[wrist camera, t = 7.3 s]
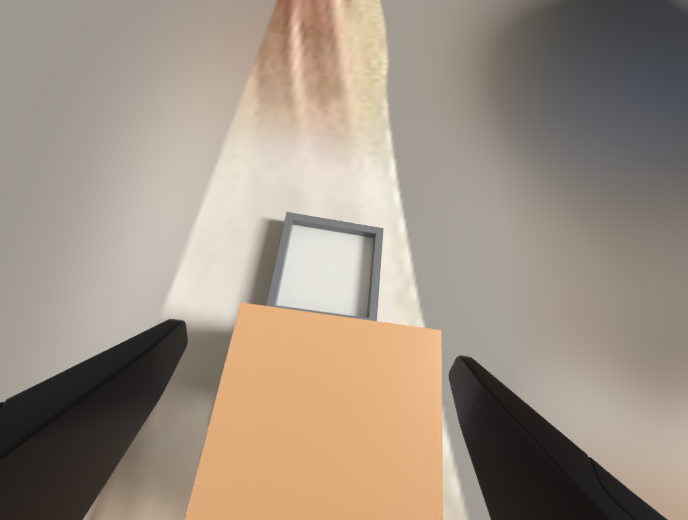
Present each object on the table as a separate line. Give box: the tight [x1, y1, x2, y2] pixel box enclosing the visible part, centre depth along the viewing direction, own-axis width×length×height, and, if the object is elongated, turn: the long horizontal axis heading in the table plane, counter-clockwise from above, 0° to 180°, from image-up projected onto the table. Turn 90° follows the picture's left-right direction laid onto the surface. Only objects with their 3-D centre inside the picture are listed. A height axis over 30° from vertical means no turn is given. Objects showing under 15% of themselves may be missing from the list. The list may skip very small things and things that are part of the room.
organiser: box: [266, 212, 383, 321], centre depth 17 cm, size 14×7×2 cm, turn 173°
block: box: [185, 302, 443, 520], centre depth 10 cm, size 4×4×12 cm
